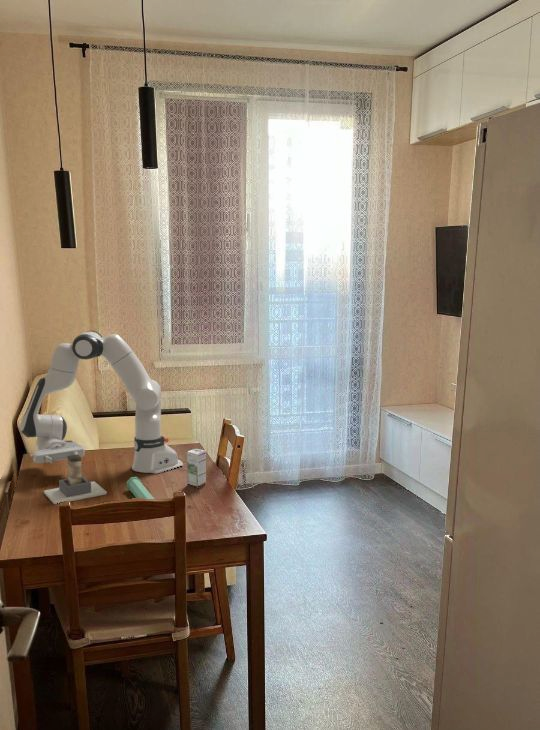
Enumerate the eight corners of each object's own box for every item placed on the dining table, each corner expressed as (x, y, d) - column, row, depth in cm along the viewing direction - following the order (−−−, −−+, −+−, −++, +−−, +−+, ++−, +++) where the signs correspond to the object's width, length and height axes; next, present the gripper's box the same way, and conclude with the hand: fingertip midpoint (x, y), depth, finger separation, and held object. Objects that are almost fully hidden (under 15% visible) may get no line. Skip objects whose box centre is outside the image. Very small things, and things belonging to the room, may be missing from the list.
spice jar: (78, 488, 237) (77, 454, 235) (82, 491, 234) (81, 457, 232) (68, 490, 235) (67, 456, 233) (71, 493, 232) (70, 458, 230)
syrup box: (206, 484, 249) (206, 450, 247) (197, 488, 244) (197, 453, 242) (195, 481, 252) (195, 447, 250) (186, 485, 247) (186, 451, 245)
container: (156, 495, 219) (137, 473, 240) (141, 504, 216) (123, 481, 238) (162, 509, 221) (143, 486, 242) (147, 517, 218) (129, 493, 240)
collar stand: (94, 483, 246) (93, 471, 245) (106, 494, 235) (106, 481, 234) (43, 492, 235) (43, 480, 234) (54, 504, 223) (53, 491, 223)
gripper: (28, 446, 248) (37, 455, 237) (78, 440, 260) (88, 448, 249) (29, 461, 249) (38, 471, 238) (78, 454, 261) (89, 462, 250)
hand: (64, 459), depth 243 cm, fingers open, 8 cm apart
